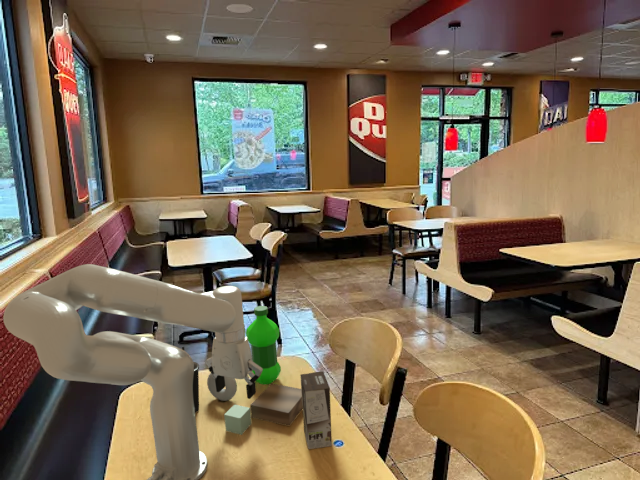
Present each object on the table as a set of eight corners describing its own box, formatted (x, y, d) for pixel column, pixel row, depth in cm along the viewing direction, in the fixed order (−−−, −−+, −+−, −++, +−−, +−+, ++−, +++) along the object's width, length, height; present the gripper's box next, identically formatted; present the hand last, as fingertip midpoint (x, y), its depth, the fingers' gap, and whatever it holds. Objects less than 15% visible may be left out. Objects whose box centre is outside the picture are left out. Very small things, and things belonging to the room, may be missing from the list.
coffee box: (332, 446, 112) (330, 388, 109) (307, 450, 111) (304, 391, 108) (326, 424, 121) (324, 370, 117) (303, 427, 120) (299, 373, 116)
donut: (240, 399, 134) (237, 369, 132) (234, 405, 131) (231, 374, 129) (213, 393, 138) (210, 364, 136) (206, 399, 135) (203, 369, 133)
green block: (241, 435, 118) (240, 418, 117) (225, 431, 120) (224, 414, 119) (251, 424, 123) (250, 407, 121) (236, 420, 124) (234, 404, 123)
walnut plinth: (289, 426, 121) (288, 413, 120) (251, 417, 125) (250, 404, 124) (307, 402, 131) (307, 390, 131) (272, 395, 136) (271, 383, 135)
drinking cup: (176, 406, 132) (168, 344, 128) (202, 400, 135) (196, 339, 130) (176, 420, 125) (168, 355, 121) (204, 414, 128) (197, 350, 123)
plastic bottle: (285, 373, 149) (281, 303, 143) (275, 390, 139) (270, 315, 133) (257, 371, 151) (252, 301, 146) (245, 387, 141) (239, 313, 136)
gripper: (194, 335, 115) (201, 394, 119) (251, 344, 109) (256, 406, 112) (211, 324, 122) (217, 380, 126) (266, 331, 115) (271, 391, 119)
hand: (236, 392), depth 119 cm, fingers open, 9 cm apart
